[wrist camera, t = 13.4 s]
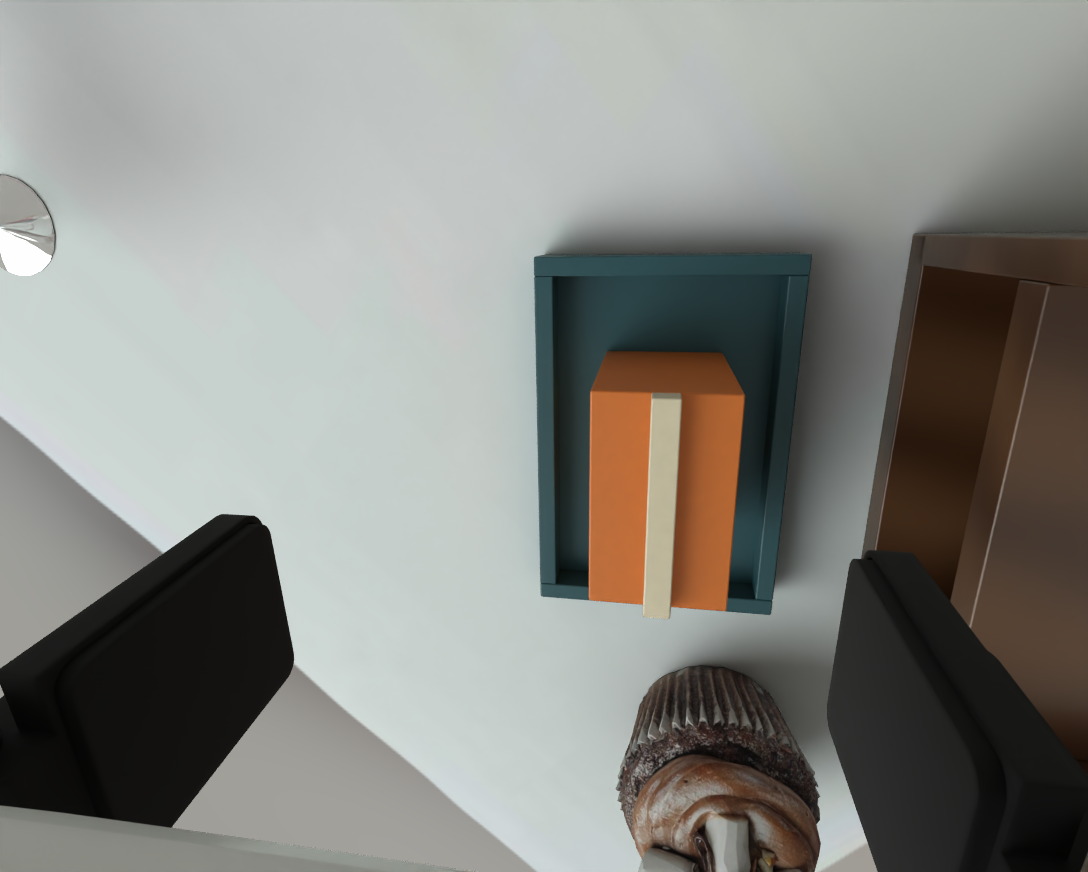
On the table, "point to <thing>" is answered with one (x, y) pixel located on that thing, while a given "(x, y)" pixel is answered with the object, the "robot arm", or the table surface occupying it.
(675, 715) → the cupcake
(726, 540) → the packet
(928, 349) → the shelf
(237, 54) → the table surface
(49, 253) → the wineglass
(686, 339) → the tray
